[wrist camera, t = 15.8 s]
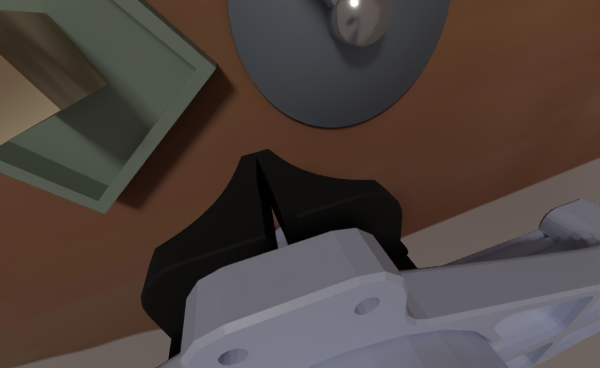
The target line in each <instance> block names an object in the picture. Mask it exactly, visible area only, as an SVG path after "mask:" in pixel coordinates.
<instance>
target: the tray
mask: <svg viewBox="0 0 600 368" xmlns="http://www.w3.org/2000/svg"><path fill="white" fill-rule="evenodd" d="M0 10H9V11H24V12H39V13H46V14H47V15H48V16H49V17H50V18H51V19H52V20H53V21H54V22H55V24H56V25H57V26H58V27H59V28H60V29H61V30H62V31H63V32H64V33H65V35H66V36H67V37H68V38H69V39H70V40H71V41H72V42H73V43H74V45H75V46H76V47H77V48H78V49H79V50H80V51H81V52H82V53H83V55H84V56H85V57H86V58H87V59H88V60H89V61H90V62H91V63H92V65H93V66H94V67H95V68H96V69H97V70H98V71H99V72H100V73H101V74H102V76H103V77H104V78H105V79H106V80H107V81H108V82H109V84H108V85H106V86H104V87H102V88H101V89H99V90H97V91H96V92H94V93H92V94H90V95H89V96H87V97H85V98H83V99H82V100H80V101H78V102H77V103H75V104H73V105H71V106H70V107H68V108H66V109H65V110H63V111H61V112H59V113H58V114H56V115H54V116H52V117H51V118H49V119H47V120H45V121H43V122H42V123H40V124H38V125H36V126H34V127H33V128H31V129H29V130H27V131H25V132H24V133H22V134H20V135H18V136H16V137H15V138H13V139H11V140H9V141H7V142H6V143H4V144H2V145H0V173H2V174H5V175H7V176H10V177H12V178H15V179H17V180H20V181H23V182H25V183H28V184H30V185H33V186H35V187H38V188H40V189H43V190H45V191H48V192H50V193H53V194H55V195H58V196H60V197H63V198H66V199H68V200H71V201H73V202H76V203H78V204H81V205H83V206H86V207H88V208H91V209H93V210H96V211H98V212H101V213H103V214H105V213H106V212H107V211H108V209H109V208H110V207H111V205H112V204H113V203H114V202H115V200H116V199H117V198H118V196H119V195H120V194H121V192H122V191H123V190H124V188H125V187H126V186H127V185H128V183H129V182H130V181H131V179H132V178H133V177H134V175H135V174H136V173H137V171H138V170H139V169H140V167H141V166H142V165H143V164H144V162H145V161H146V160H147V158H148V157H149V156H150V154H151V153H152V152H153V150H154V149H155V148H156V147H157V145H158V144H159V143H160V141H161V140H162V139H163V137H164V136H165V135H166V133H167V132H168V131H169V130H170V128H171V127H172V126H173V124H174V123H175V122H176V120H177V119H178V118H179V116H180V115H181V114H182V112H183V111H184V110H185V109H186V107H187V106H188V105H189V103H190V102H191V101H192V99H193V98H194V97H195V95H196V94H197V93H198V92H199V90H200V89H201V88H202V86H203V85H204V84H205V82H206V81H207V80H208V78H209V77H210V76H211V74H212V73H213V72H214V71H215V69H216V62H215V61H214V60H212V59H211V58H210V57H209V56H208V55H207V54H206V53H205V52H203V51H202V50H201V49H200V48H199V47H198V46H197V45H195V44H194V43H193V42H192V41H191V40H190V39H189V38H187V37H186V36H185V35H184V34H183V33H182V32H181V31H179V30H178V29H177V28H176V27H175V26H174V25H173V24H172V23H170V22H169V21H168V20H167V19H166V18H165V17H164V16H162V15H161V14H160V13H159V12H158V11H157V10H156V9H154V8H153V7H152V6H151V5H150V4H149V3H148V2H146V1H145V0H0Z"/></svg>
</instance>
